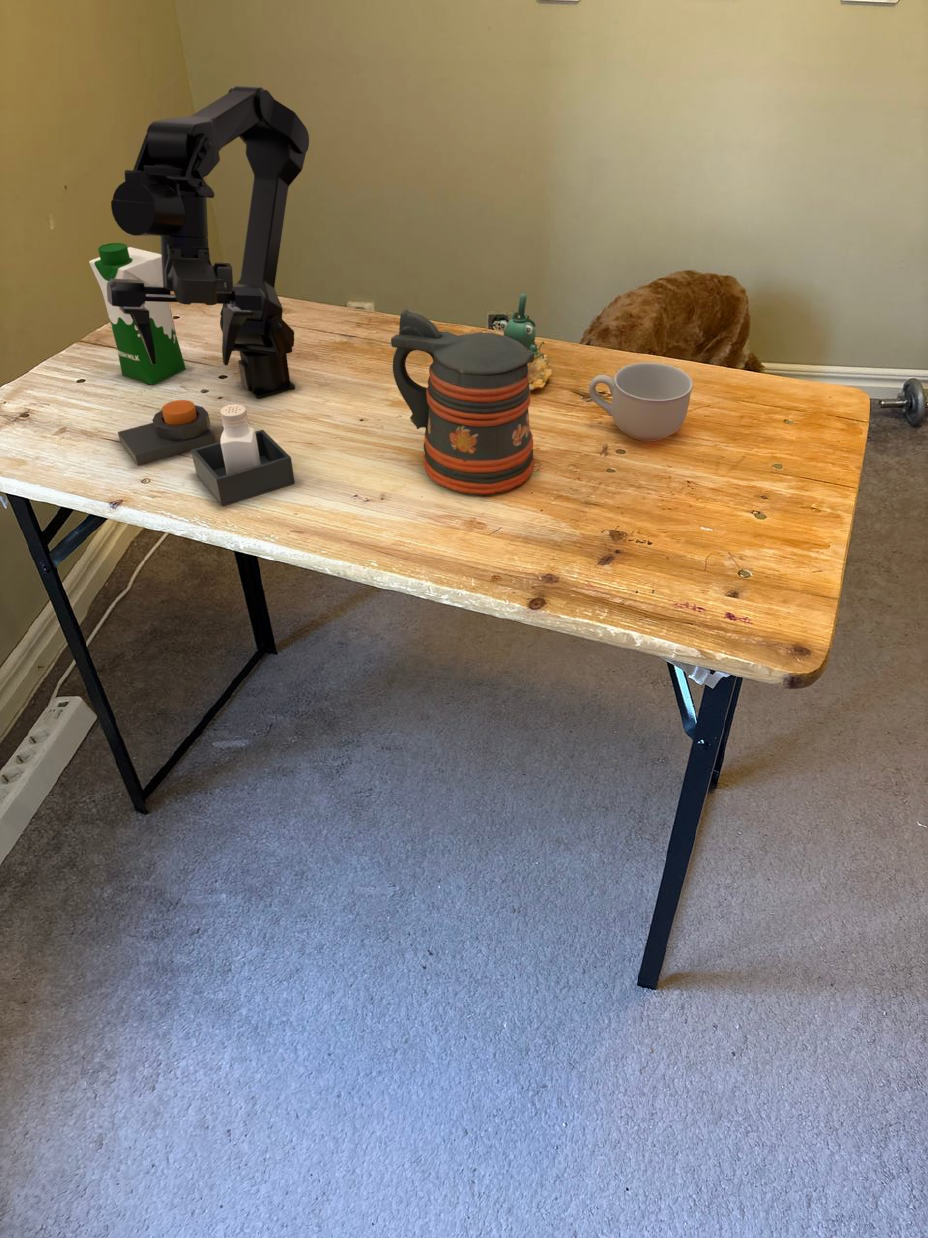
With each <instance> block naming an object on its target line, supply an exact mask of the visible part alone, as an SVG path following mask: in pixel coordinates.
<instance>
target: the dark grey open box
mask: <svg viewBox="0 0 928 1238" xmlns="http://www.w3.org/2000/svg"><path fill="white" fill-rule="evenodd" d="M255 433H256V439H257V445H258V451H259V457H260V463H261V465H257V466H254V467H251V468H247V469H244V470H241V471H237V472H234V473H231V474H227V473H226V468H225V463H224V458H223V453H222V448H221V443H220V441H217V442H215V443H214V444H210V445H207V446H203V447H200V448H196V449H193V450H191V451H190V453H191V456H192V460H193V465H194V469H195V473H196V477H197V479H198V480H199V481H200V482H201V483H202V484H203V485H204V487H205V488H206V489H207V491H208V492H209V493H210V494H211V496H212V497H213V498H214V500H215V501H216V502H218V504H219V505H220V507H222V508H223V507H226V506H229V505H233V504H236V503H239V502H241V501H245V500H248V499H252V498H255V497H257V496H261V495H264V494H267V493H271V492H274V491H277V490H280V489H283V488H285V487H290V486H294V485H295V484H296V482H295V475H294V469H293V462H292V456H290V455H289V454H288V453H287V452H286V451H285V449H283V448H282V447H281V445H279V444H278V443H277V441H275V439H273V438H272V437H271V436H270V435H269V434H268V432H266V431H265V430H264V429H260V430H255Z"/></svg>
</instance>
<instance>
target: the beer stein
mask: <svg viewBox="0 0 928 1238" xmlns="http://www.w3.org/2000/svg"><path fill="white" fill-rule="evenodd" d="M398 328H399V329H398V330H399V331H398V333H397V334H395V335H393V336H392V337H391V338H390V344H391V347H392V348H395V352H394V354H393V358H392V374H393V378H394V382H395V384H396V387H397V389H398V391H399V393H400V395H401V396H402V398H403V401H404V402H405V403H406V405H407V406H408V408H409V410H410V411H411V416H409V420H410V422H411V423H412V424H413V425H414V426H415V427H416V429H417V430H420V428H424V429H425V430H424V437H423V438H424V443H423V452H424V454H423V466H424V467H423V468H424V470H425V471H426V474H427V475H428V477H429V478H430V479H431V480H432V481H433V483H436V484H437V485H439V486H441V487H443V488H446V489H447V490H451V491H454V492H458V493H462V494H468V495H475V496H486V495H496V494H500V493H504V492H508V491H510V490H512V489H516V488H518V487H519V486H521V485H522V484H524V483H525V482H527V481H528V479H529V478H530V477H531V476H532V474H533V472H534V471H533V470H534V468H535V461H534V459H535V458H534V449H533V448H534V436H533V433H532V431H531V429H530V414H529V413H530V411H529V407H530V405H531V400H532V399H531V391H530V388H529V380H528V365H527V364H528V363H531V362H533V361H534V352H528V350H527V349H526V348H525V346H523V345H522V344H521V343H519V342H518V341H516V340H514V339H512V338H509V337H507V336H504V334H503V335H502V334H499V333H493V332H473V333H472V332H471V333H464V334H459V335H457V334H455V333H453V332H451V331H450V332H449V331H441V330H438V328H437V326H436V325H435V324H434V323H433V322H432V321H431V320H430V319H428V318H426V317H425V316H424V315H422V314H419V313H416V312H412V311H409V310H408V309H403V310H402V312H401V313H400V317H399V327H398ZM414 351H420V352H424V353H426V354H428V355H429V356H430V357H431V359H432V363H431V364H430V365H429V368H428V374H429V376H428V379H427V386H422V385H420V384H419V383H417V382H416V381H415V380H413V379H412V378H411V377H410V375H409V373H408V371H407V367H406V366H407V365H406V362H407V357H408V356H409V354H410V353H412V352H414Z"/></svg>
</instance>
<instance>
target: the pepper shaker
mask: <svg viewBox="0 0 928 1238" xmlns="http://www.w3.org/2000/svg"><path fill="white" fill-rule="evenodd" d="M219 413H220V418H221V425H222V427H223V430H222V433H221V436H220V441H219V442H220V443H221V448H222V453H223V458H224V463H225V468H226V473H227V474H231V473H234V472H237V471H241V470H244V469H247V468H251V467H254V466H257V465H261V463H260V457H259V451H258V445H257V439H256V433H255V432H256V429H254V428H253V427H251V426H249V419H248V412H247V408H246V406H245V405H243V404H236V403H233V404H228V405H225V406H223V407H222V408H221V409H220V410H219Z"/></svg>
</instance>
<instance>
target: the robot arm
mask: <svg viewBox="0 0 928 1238" xmlns="http://www.w3.org/2000/svg"><path fill="white" fill-rule="evenodd" d="M237 138H240V140H241V141H242V142H243V143H244V144H245V156H246V159H247V162H248V164H249V166H250V169H251V172H252V173H253V181H252V182H253V183H252V190H251V197H250V205H249V212H248V219H247V227H246V228H247V229H246V234H245V241H244V249H243V255H242V262H241V263H242V264H241V271H240V278H239V280H238V281H236V283H234V277H233V276H234V275H233V267H232V265H231V263H229V262H215V263H214V264H212V262H211V258H210V257H211V256H210V255H211V254H210V246H209V226H208V225H209V224H208V201H207V200H208V199H214V198H215V192H214V190H213V188H211V186H210V185H208V184H207V182H206V181H205V178H206V177H207V176H209V175H210V174H211V172H212V171H213V170H214V169H215V167H216V166H217V165H218V164H219V162H220V161H221V156H220V151H221V150H222V149H223V148H225V147H226V146H227V145H229V144H230V143H232V142H234V140H236V139H237ZM309 145H310V135H309V131H308V128H307V127H306V125H305V124H304V123H303V121H302V120H301V118H300V117H299V116H298V114H297V113H296V112H295V111H294V110H293V109H290V108H289V107H287V106H286V105H284V104H283V103H282V102H280V101H278V100H276V98H274V97H273V95H272V94H271V92H270V91H269V90H267V89H265V88H263V87H261V86H246V85H236V86H234V87H233V88H232V87H231V88H230V89H229V90H228V92H227V93H226V94H224V95H223V96H221V97H219V98H218V99H216V100H214V101H213V102H211V103H210V104H208V105H207V106H205V107H203V108H201V109H200V110H198V111H197V112H195V113H193V114H192V115H188V116H182V117H180V116H179V117H167V118H164V119H163V118H162V119H159V120H154V121H151V123H150V124H149V125H148V127H147V129H146V134H145V136H144V138H143V142H142V144H141V147H140V150H139V151H138V152H139V153H138V155H137V158H136V161H135V164H134V166H133V168H132V169H125V170H124V181H123V182H122V183H120V184H119V185H118V186H117V187H116V189H115V190H114V193H113V196H112V199H111V201H110V208H111V213H112V216H113V219H114V221H115V222H116V224H117V226H118V227H119V228H120V229H121V230H122V231H123V232H125V233H126V234H128V235H130V236H136V237H138V236H139V237H141V236H142V237H160V238H159V240H160V254H161V258H162V276H163V287H153V286H144V283H143V282H141V281H140V280H131V279H110V280H109V281H108V283H107V298H108V302H109V303H110V304H111V305H112V306H117V307H119V309H120V310H121V311H122V312H123V313H124V314H130V316H131V317H132V319H133V321H134V323H135V325H136V327H137V329H138V331H139V333H140V336H141V338H142V341H143V343H144V346H145V348H146V351H147V353H148V356H149V358H150V361H151V363H152V365H156V356H155V348H154V343H153V337H152V331H151V326H150V316H149V310H147V309H146V308H145V301H153V302H169V303H178V304H181V305H185V306H186V305H187V306H188V305H192V304H200V305H201V304H203V305H206V306H215V305H217V304H218V305H222V307H221V311H220V314H219V315H220V319H219V326H220V330H221V332H222V340H221V341H222V343H221V355H222V364H223V366H229V363H230V360H231V356H232V353H233V352H239V356H240V359H238V361H237V365H238V371H239V376H240V377H239V378H240V384H241V386H242V387H243V389H245V390H246V391H247V392H249V393H250V394H251V395H252V396H253V397H254V398H255V399H261V398H265V397H269V396H272V395H273V396H274V395H277V394H280V393H285V392H288V391H292V390H295V389H296V385H295V384H294V382H292V381H291V377H290V369H289V362H288V355H287V354H291V353H292V352H293V347H294V346H295V331H294V329H292V328H291V326H290V325H289V324H288V323H287V322H286V321H284V319H283V305H282V303H281V301H280V299H279V296H278V294H277V291H276V289H275V288H276V287H275V286H276V278H277V273H278V272H277V271H278V265H279V257H280V250H281V241H282V236H283V229H284V221H285V216H286V215H285V214H286V208H287V200H288V191H289V187H290V185H291V184H292V183H293V182H294V181H295V179H296V178H297V177H298V176H299V175H300V173H301V172H302V171H303V169H304V163H305V159H306V154H307V152H308V150H309V147H310V146H309ZM207 198H208V199H207ZM172 292H173V293H172Z"/></svg>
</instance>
